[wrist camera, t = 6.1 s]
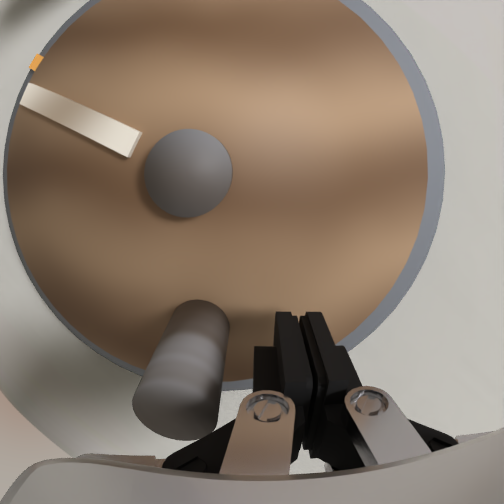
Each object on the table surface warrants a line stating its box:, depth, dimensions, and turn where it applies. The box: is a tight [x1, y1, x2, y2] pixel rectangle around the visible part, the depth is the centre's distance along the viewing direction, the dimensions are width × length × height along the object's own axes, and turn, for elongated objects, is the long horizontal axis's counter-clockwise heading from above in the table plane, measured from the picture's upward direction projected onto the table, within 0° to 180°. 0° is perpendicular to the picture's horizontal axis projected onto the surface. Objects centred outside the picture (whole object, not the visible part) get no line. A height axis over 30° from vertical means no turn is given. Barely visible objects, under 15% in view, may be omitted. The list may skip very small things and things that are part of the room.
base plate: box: [3, 0, 445, 391], centre depth 13 cm, size 22×22×2 cm
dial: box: [7, 0, 428, 441], centre depth 9 cm, size 18×18×6 cm
